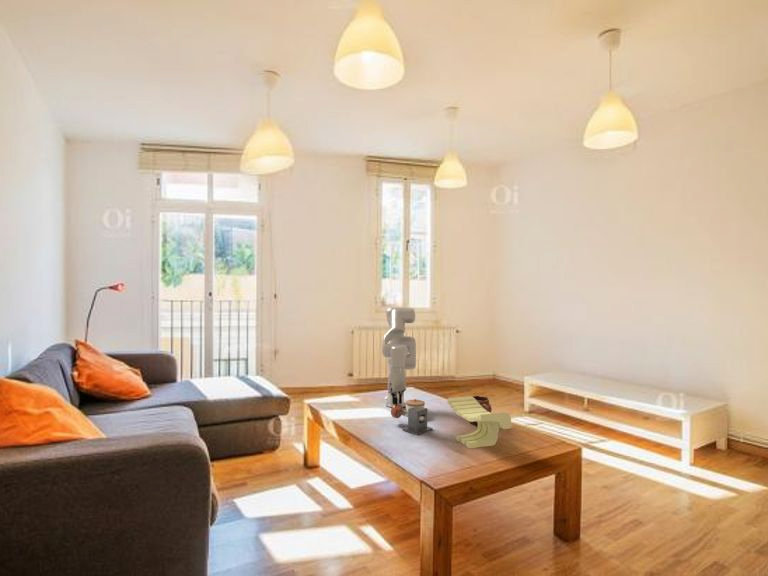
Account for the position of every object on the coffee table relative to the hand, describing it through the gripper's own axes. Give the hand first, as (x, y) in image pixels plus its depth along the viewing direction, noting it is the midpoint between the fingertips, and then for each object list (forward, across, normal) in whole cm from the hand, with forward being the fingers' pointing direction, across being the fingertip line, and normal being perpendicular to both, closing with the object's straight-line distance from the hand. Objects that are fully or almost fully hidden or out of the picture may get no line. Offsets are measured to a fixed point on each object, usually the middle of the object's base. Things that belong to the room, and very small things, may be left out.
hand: (396, 403), depth 240 cm
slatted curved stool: (+11, -9, +45) cm, 47 cm away
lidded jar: (+11, -18, -3) cm, 21 cm away
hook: (+8, 0, +9) cm, 12 cm away
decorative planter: (+11, -33, +30) cm, 46 cm away
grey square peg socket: (+11, 0, +15) cm, 18 cm away
